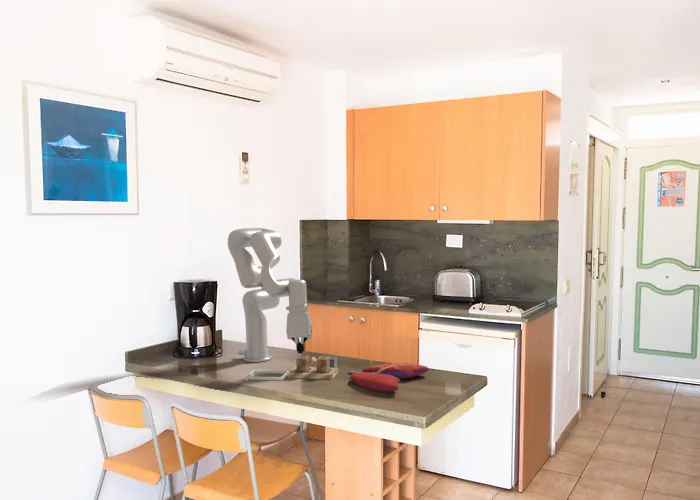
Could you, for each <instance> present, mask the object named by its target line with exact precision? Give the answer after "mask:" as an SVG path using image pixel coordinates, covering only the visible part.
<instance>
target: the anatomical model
mask: <svg viewBox="0 0 700 500" xmlns="http://www.w3.org/2000/svg"><path fill="white" fill-rule="evenodd" d="M429 370H430V368H429V367H428V366H426V365H422V364H415V363H409V362H401V363H400V362H399V363H381V364H374V365H371V366H367V367H363V369H361V371H353V370H349V371H347V375H350V379H351V381H352V382H353V383H354V384H356V385H358V386H359V387H361V388H365V389H369V390H371V391H376V392H395V391H398V390H399V384H400V382H401V379H402V380H403V379H411V378H414V377H417V376H420V375H424V374H425V373H427V372H428V371H429Z"/></svg>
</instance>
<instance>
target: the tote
mask: <svg viewBox="0 0 700 500" xmlns="http://www.w3.org/2000/svg"><path fill="white" fill-rule="evenodd" d="M289 372H290V370H278V369H277V370H275V369H273V370H272V369H270V370H269V369H252V371H250V372H249V373H248V374H246V375H245V376H244V381H245V382H247V381H249V380H254V381H255V380H259V381H261V380H262V381H266V380H267V381H283V380H284V379H286V377H288V373H289ZM259 373H260V374H283V375H282V376H280V377H279V376H278V377H277V376H255V375H256V374H259Z"/></svg>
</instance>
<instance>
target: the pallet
mask: <svg viewBox="0 0 700 500" xmlns="http://www.w3.org/2000/svg"><path fill="white" fill-rule="evenodd" d="M338 373H339V368H338V367H337V368H330V372H329V373H328V374H322V373H317V366H310V371H309V372H308V373H297V368H296V366H294V367H293V368H292V370H289V373H288V375H287V377H288V379H312V380H313V379H314V380H316V379H317V380H333V379H334V378H335V376H336V375H337V374H338Z"/></svg>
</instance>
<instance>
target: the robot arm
mask: <svg viewBox="0 0 700 500" xmlns="http://www.w3.org/2000/svg"><path fill="white" fill-rule="evenodd" d="M281 245H282V237H281V235H280V233H279V232H278V231H276V230H274V229H273V230H272V229H267V228H262V227H250V228H249V227H248V228H238V229H234V230H231V232H230V233H229V235H228V237H227V247H228V250H229V253H230V255H231V257H232V259H233V261H234V265H235V269H236V272H237V275H238V278H239V282H240V284H241V286H242V288H245V289H252V290H249V291H248V290H247V292H245V293H244V294H243V296H242V308H243V311H244V318H245V320H244V322H245V336H246V337H245V338H246V339H245V342H246V343H245V344H246V345H245V346H246V349H238V352H237V353H238V355H241V356H242V355H243V358H242V359H243V361H244V362H247V363H261V362H262V363H263V362H267V361H270V360H271V359H272V355H271V354H269V349H268V348H269V347H268V322H267V317H266V315H265V314H264V312H263V311H264V310H270V309H274V308H277V307H278V306H279V304H280V298H285V297H288V306H285V310H286V311H288V313H287V315H286V336H287V337H286V338H287V339H288V340H291V341H292V342H294V344H295V345H296V352H297V354H298V355H299V354H301V355H302V354H303V353H304V352H305V343H306V342H307V341H308V340H312V339H313V334H312V333H313V326H312V319H311V315H310V312H309V311H308V297H307V296H308V295H307V294H308V293H307V281H306V280H304V279H295V278H292V277H291V278H289V277H288V278H281V279H275V276H274V274H273V271H272V270H271V269H273V268H274V267H276V266H277V265H278V264H279V262H280V259H281V257H280V254H279V253H278V251H277V249H279V248H280V247H281ZM246 248H252V249H253V251H254V253H255V255H256V257H257V258H258V260H259V262H260V264H261V265H260V266H258V265H256V263H255V261H254V257H253V255H252V254H251V253H250V251H248V250H247V249H246ZM255 288H259V289H255Z"/></svg>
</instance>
